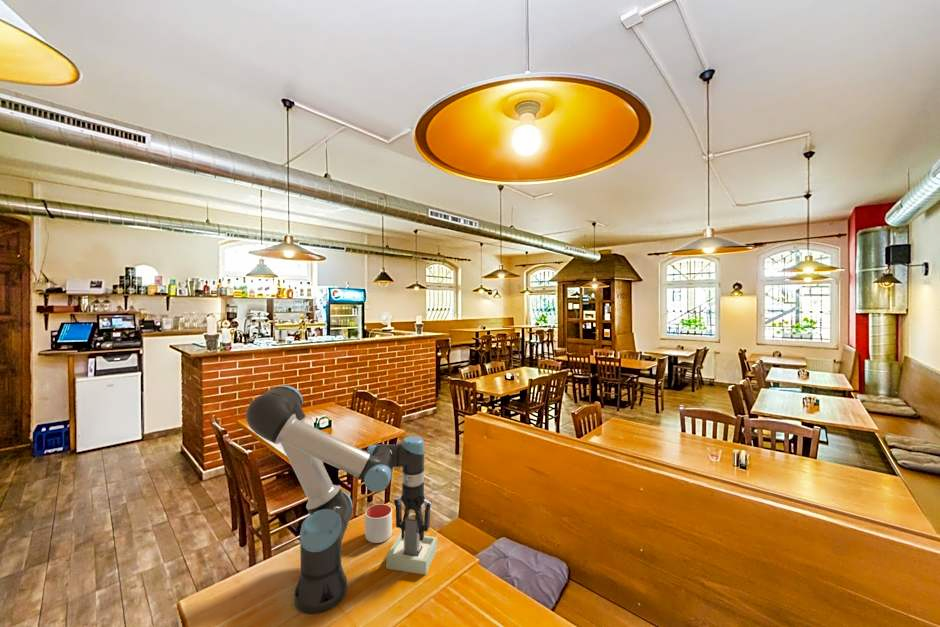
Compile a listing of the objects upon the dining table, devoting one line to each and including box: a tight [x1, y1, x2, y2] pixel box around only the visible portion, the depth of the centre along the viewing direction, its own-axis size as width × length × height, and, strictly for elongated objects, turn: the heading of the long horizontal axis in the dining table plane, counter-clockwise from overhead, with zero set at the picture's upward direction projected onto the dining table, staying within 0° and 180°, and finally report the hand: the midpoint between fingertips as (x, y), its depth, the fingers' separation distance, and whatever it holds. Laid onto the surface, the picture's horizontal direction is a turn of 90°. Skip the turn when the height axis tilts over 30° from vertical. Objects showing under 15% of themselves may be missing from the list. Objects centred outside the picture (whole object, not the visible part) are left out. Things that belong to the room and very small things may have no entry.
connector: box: [405, 512, 420, 557], centre depth 132 cm, size 4×4×14 cm
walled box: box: [385, 531, 438, 576], centre depth 133 cm, size 14×13×4 cm
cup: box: [364, 503, 393, 544], centre depth 145 cm, size 10×10×10 cm
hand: (412, 547), depth 133 cm, fingers closed on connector, 4 cm apart
